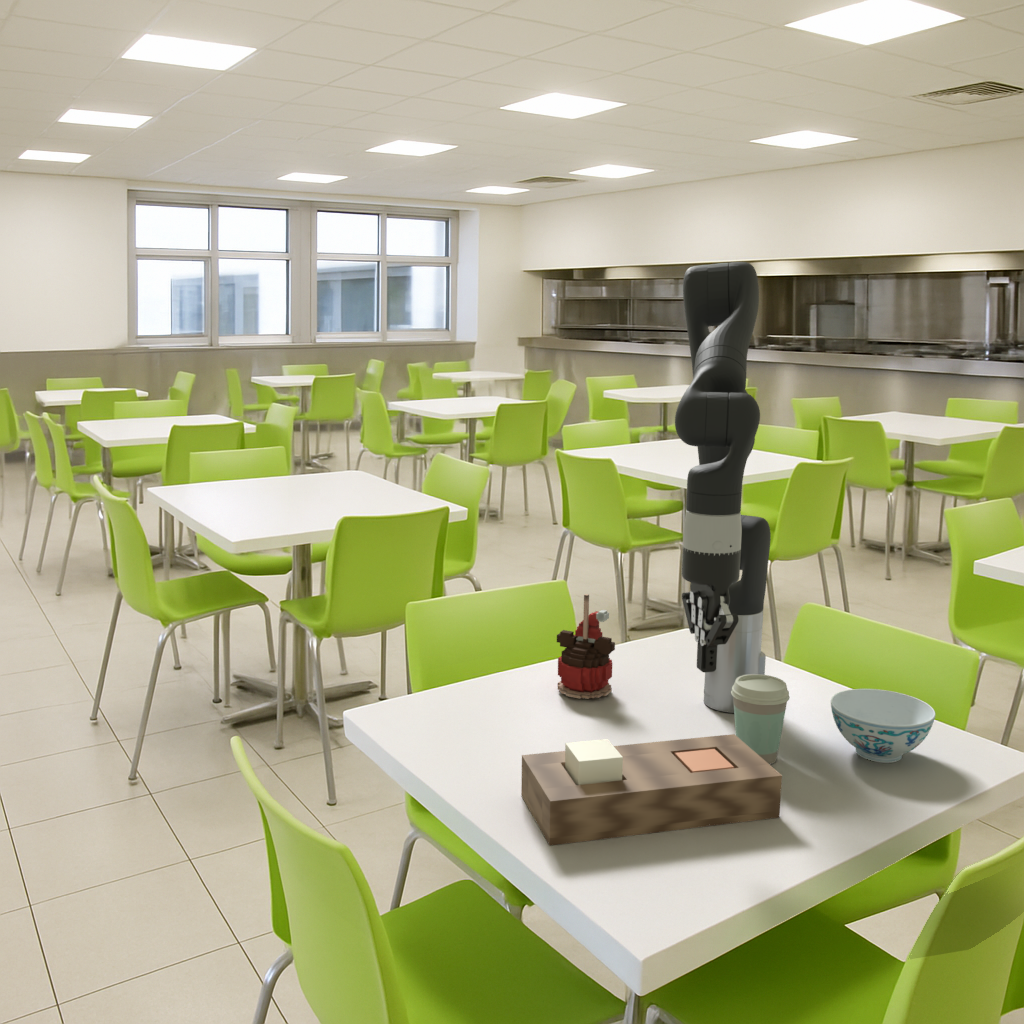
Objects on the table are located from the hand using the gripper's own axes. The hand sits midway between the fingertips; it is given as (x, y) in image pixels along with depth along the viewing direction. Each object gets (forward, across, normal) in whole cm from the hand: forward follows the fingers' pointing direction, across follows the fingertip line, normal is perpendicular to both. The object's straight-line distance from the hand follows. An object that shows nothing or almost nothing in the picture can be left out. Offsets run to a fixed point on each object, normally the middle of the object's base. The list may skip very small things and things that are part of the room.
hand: (706, 670), depth 136 cm
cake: (+19, +43, +2) cm, 47 cm away
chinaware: (+19, +8, -33) cm, 39 cm away
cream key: (+14, 0, +16) cm, 21 cm away
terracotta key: (+17, 0, 0) cm, 17 cm away
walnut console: (+19, 0, +8) cm, 20 cm away
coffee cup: (+19, +11, -14) cm, 26 cm away
